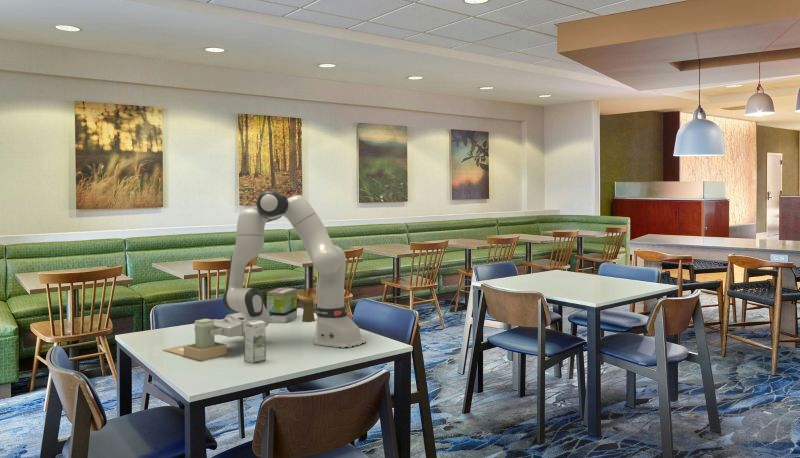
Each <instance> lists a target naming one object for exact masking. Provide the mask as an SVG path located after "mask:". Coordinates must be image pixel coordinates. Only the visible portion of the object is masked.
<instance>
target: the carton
mask: <svg viewBox="0 0 800 458" xmlns="http://www.w3.org/2000/svg"><path fill="white" fill-rule="evenodd" d="M194 328H195V331H194V338H195V339H194V341H195V343H194V344H195V346H196V349H199V350H203V349H207V348H212V347H215V342H216V341H215V339H216V338H215V335H209V330H214V320H213V319H210V318H202V319H197V320H194Z"/></svg>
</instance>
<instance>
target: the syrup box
mask: <svg viewBox="0 0 800 458" xmlns="http://www.w3.org/2000/svg"><path fill="white" fill-rule="evenodd" d="M266 332H267V330H266V327H265V322H264V321H261V320H253V321H248V322H244V336H243V361H244V362H248V363H251V364H255V363H259V362H264V361H266V359H267V356H266V355H267V354H266V353H267V352H266V350H267V347H266V345H267V344H266V343H267V342H266V339H267V337H266Z"/></svg>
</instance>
